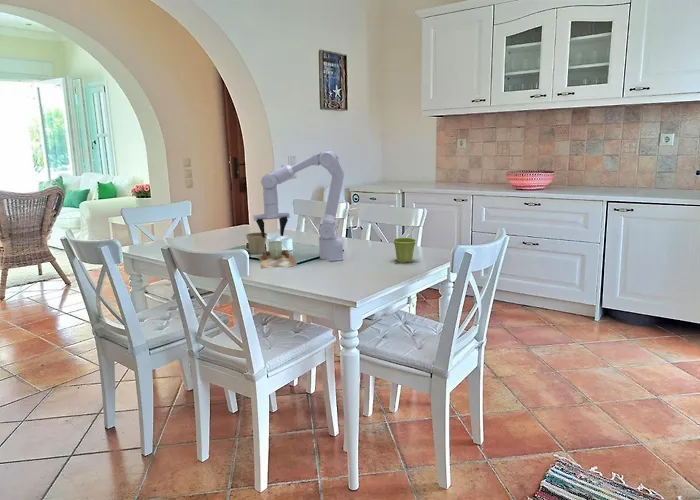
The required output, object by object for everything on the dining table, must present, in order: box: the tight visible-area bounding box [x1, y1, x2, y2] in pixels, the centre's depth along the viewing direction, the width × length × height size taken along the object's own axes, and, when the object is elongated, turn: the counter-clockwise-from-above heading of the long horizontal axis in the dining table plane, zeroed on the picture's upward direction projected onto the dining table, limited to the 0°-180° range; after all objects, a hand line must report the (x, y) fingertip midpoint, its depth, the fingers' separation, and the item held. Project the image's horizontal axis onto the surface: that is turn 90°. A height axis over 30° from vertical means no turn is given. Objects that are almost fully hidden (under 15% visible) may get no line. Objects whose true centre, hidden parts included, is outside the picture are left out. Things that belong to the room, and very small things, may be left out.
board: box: [258, 249, 298, 270], centre depth 210 cm, size 14×22×3 cm, turn 13°
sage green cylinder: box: [268, 240, 283, 259], centre depth 214 cm, size 5×8×6 cm, turn 13°
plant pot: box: [392, 237, 417, 264], centre depth 207 cm, size 9×9×9 cm
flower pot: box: [245, 231, 268, 255], centre depth 225 cm, size 9×9×9 cm
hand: (272, 236), depth 212 cm, fingers open, 7 cm apart
